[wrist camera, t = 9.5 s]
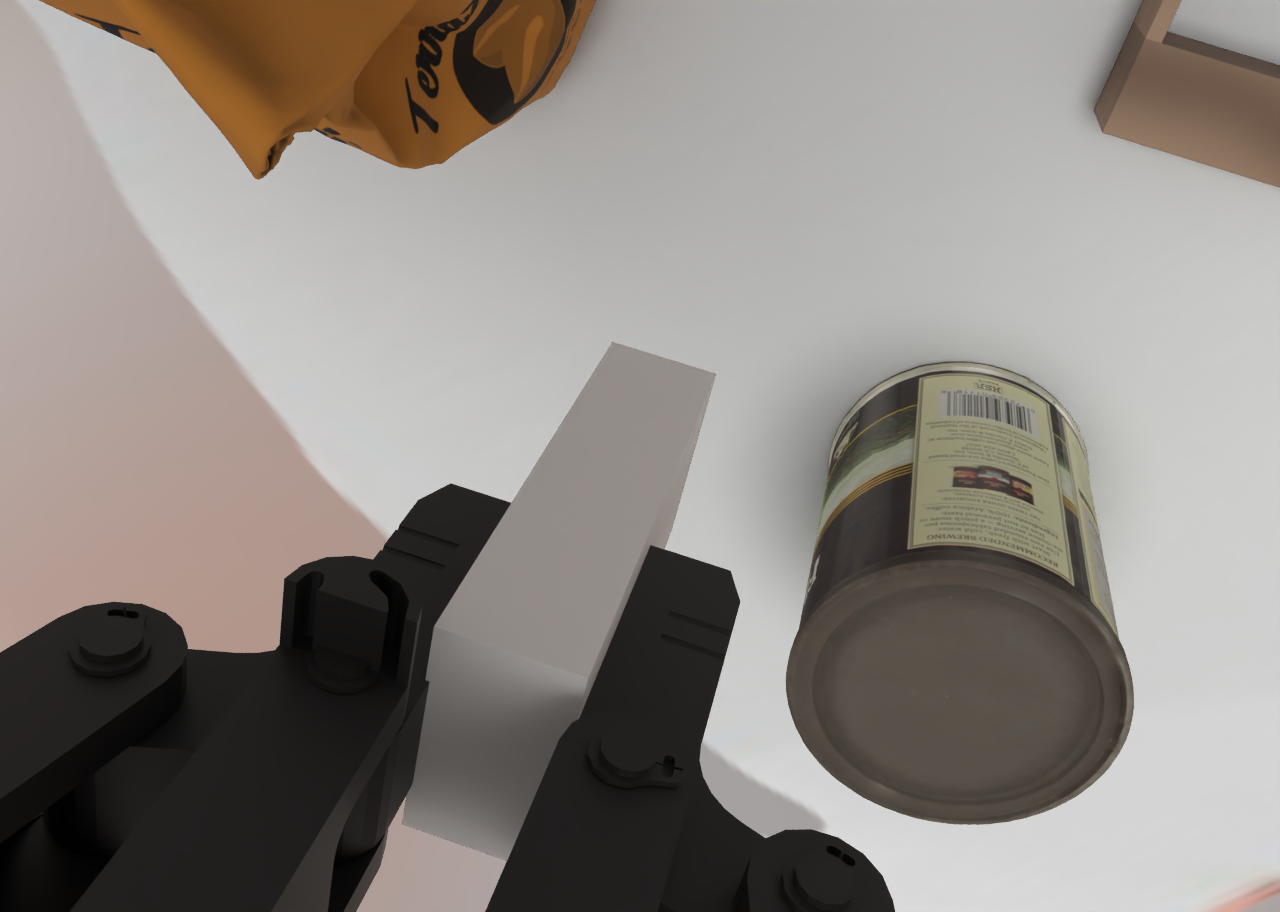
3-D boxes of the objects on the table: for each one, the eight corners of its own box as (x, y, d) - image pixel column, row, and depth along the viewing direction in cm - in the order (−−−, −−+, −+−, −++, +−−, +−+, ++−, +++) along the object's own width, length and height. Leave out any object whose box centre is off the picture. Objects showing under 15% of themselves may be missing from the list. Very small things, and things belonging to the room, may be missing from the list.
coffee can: (860, 596, 53) (830, 837, 41) (800, 387, 48) (746, 587, 36) (1110, 564, 49) (1157, 817, 37) (1068, 335, 45) (1106, 537, 33)
